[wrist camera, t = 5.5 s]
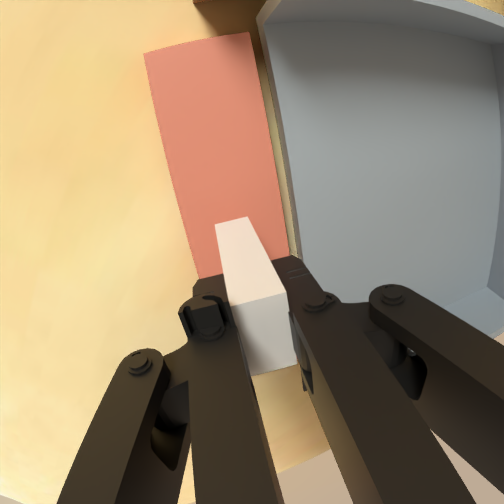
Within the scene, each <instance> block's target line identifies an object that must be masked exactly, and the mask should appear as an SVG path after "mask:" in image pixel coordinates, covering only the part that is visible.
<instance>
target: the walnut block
mask: <svg viewBox="0 0 504 504" xmlns="http://www.w3.org/2000/svg"><path fill="white" fill-rule="evenodd" d="M205 1H211V0H193V4H194V3H200V2H205Z"/></svg>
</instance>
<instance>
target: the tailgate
mask: <svg viewBox="0 0 504 504" xmlns="http://www.w3.org/2000/svg"><path fill="white" fill-rule="evenodd" d="M144 59H145V64H146V69H147V74H148V79H149V84H150V89H151V94H152V98H153V103H154V108H155V112H156V117H157V121H158V126H159V130H160V134H161V138H162V143H163V147H164V151H165V155H166V159H167V163H168V167H169V171H170V175H171V179H172V183H173V187H174V191H175V195H176V198H177V202H178V206H179V210H180V213H181V217H182V221H183V224H184V228H185V231H186V235H187V238H188V242H189V245H190V249H191V252H192V256H193V259H194V263H195V266H196V269H197V273H198V276H199V279H202V278H206V277H210V276H214V275H218V274H222V273H223V269H222V263H221V258H220V252H219V247H218V241H217V236H216V230H215V224H218V223H222V222H227V221H231V220H235V219H239V218H243V217H248V219H249V220H250V222H251V224H252V226H253V228H254V230H255V232H256V234H257V236H258V238H259V240H260V242H261V244H262V246H263V247H264V249H265V251H266V253H267V255H268V257H269V259H270V260H274V259H278V258H282V257H286V256H290V254H289V247H288V241H287V234H286V228H285V221H284V215H283V209H282V203H281V197H280V191H279V185H278V179H277V173H276V167H275V161H274V156H273V150H272V144H271V139H270V133H269V128H268V123H267V117H266V112H265V107H264V102H263V96H262V91H261V86H260V81H259V76H258V71H257V66H256V62H255V57H254V52H253V47H252V43H251V38H250V33H249V32H243V33H236V34H230V35H223V36H218V37H212V38H207V39H201V40H197V41H192V42H187V43H183V44H178V45H174V46H170V47H166V48H162V49H159V50H155V51H151V52H148V53H144ZM296 358H297V356H296ZM297 359H298V358H297Z"/></svg>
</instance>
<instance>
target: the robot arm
mask: <svg viewBox="0 0 504 504" xmlns="http://www.w3.org/2000/svg"><path fill="white" fill-rule="evenodd" d="M215 230H216V236H217V241H218V247H219V252H220V258H221V263H222V269H223V273H222V274H218V275H214V276H210V277H206V278H202V279H198V280H197V282H196V284H195V285H194V287H193V297H192V298H191V299H189V300H187V301H186V302H185V303H184V304H183V305H182V306H181V307H180V309H179V312H178V315H179V317H180V320H181V322H182V325H183V328H184V330H185V333H186V335H187V337H188V342H187V343H186V344H185V345H184V346H182V347H181V348H179V349H178V350H176V351H174V352H172V353H169V354H167V355H165V356H162V354H161V353H160V352H159V351H157V350H155V349H149V348H147V349H140V350H137V351H135V352H133V353H131V354H129V355H128V356H127V357H125V358H124V359H123V360H122V362H121V363H120V364H119V366H118V368H117V370H116V372H115V374H114V376H113V378H112V380H111V382H110V384H109V386H108V388H107V390H106V392H105V394H104V396H103V398H102V401H101V403H100V405H99V407H98V409H97V411H96V413H95V415H94V417H93V420H92V422H91V424H90V426H89V428H88V430H87V433H86V435H85V437H84V439H83V441H82V444H81V446H80V448H79V451H78V453H77V455H76V457H75V460H74V462H73V464H72V467H71V469H70V471H69V474H68V476H67V479H66V481H65V484H64V486H63V488H62V491H61V493H60V496H59V499H58V501H57V504H177V503H178V498H179V494H180V489H181V484H182V480H183V475H184V471H185V466H186V462H187V457H188V453H189V448H190V444H191V448H192V462H193V475H194V487H195V498H196V504H284V500H283V497H282V492H281V489H280V486H279V482H278V478H277V474H276V471H275V467H274V463H273V459H272V456H271V452H270V448H269V444H268V440H267V437H266V433H265V429H264V425H263V421H262V417H261V413H260V409H259V405H258V401H257V397H256V393H255V389H254V386H253V383H252V379H251V376H255V375H259V374H263V373H266V372H270V371H274V370H278V369H281V368H285V367H288V366H292V365H295V364H297V358H298V361H299V363H300V367H301V375H302V382H303V390H304V391H307V390H308V393H309V395H310V398H311V400H312V403H313V405H314V408H315V410H316V413H317V415H318V418H319V420H320V422H321V425H322V427H323V430H324V432H325V435H326V437H327V440H328V442H329V445H330V447H331V450H332V452H333V454H334V457H335V459H336V462H337V464H338V467H339V469H340V471H341V474H342V476H343V479H344V482H345V484H346V486H347V489H348V491H349V494H350V496H351V499H352V501H353V504H476V502H475V501H474V499H473V497H472V496H471V494H470V492H469V491H468V489H467V487H466V486H465V484H464V482H463V481H462V479H461V477H460V476H459V474H458V473H457V471H456V469H455V468H454V466H453V464H452V463H451V461H450V460H449V458H448V457H447V455H446V453H445V452H444V451H443V449H442V447H441V445H440V444H439V442H438V441H437V439H436V438H435V436H434V435H433V433H432V432H431V430H432V431H433V432H434V433H435V434H436V435H437V436H439V437H440V438H441V439H442V440H443V441H444V442H445V443H446V444H448V445H449V446H450V447H451V448H452V449H453V450H454V451H455V452H456V453H458V454H459V455H460V456H461V457H462V458H463V459H464V460H465V461H467V462H468V463H469V464H470V465H471V466H472V467H473V468H474V469H476V470H477V471H478V472H479V473H480V474H481V475H482V476H484V477H485V478H486V479H487V480H488V481H489V482H490V483H491V484H493V485H494V486H495V487H496V488H497V489H498V490H499V491H501V492H502V493H503V494H504V346H503V345H502V344H500V343H499V342H497V341H496V340H494V339H492V338H491V337H489V336H488V335H486V334H484V333H483V332H481V331H480V330H478V329H476V328H475V327H473V326H472V325H470V324H468V323H467V322H465V321H463V320H462V319H460V318H459V317H457V316H455V315H454V314H452V313H450V312H449V311H447V310H445V309H444V308H442V307H440V306H439V305H437V304H435V303H434V302H432V301H430V300H428V299H427V298H425V297H423V296H422V295H420V294H418V293H416V292H415V291H413V290H411V289H410V288H408V287H405V286H402V285H398V284H386V285H382V286H379V287H376V288H375V289H374V290H372V291H371V293H370V295H369V302H359V303H342V302H341V301H340V299H339V298H338V297H337V296H335V295H334V294H332V293H329V292H326V291H323V289H322V288H321V287H320V285H319V284H318V282H317V281H316V280H315V278H314V277H313V275H312V274H311V273H310V271H309V270H308V268H306V265H305V264H304V263H303V261H302V260H301V259H299V258H297V257H295V256H293V255H290V256H286V257H282V258H278V259H274V260H270V259H269V257H268V255H267V253H266V251H265V249H264V247H263V246H262V244H261V242H260V240H259V238H258V236H257V234H256V232H255V230H254V228H253V226H252V224H251V222H250V220H249V219H248V217H243V218H239V219H235V220H231V221H227V222H222V223H218V224H215ZM411 350H412V351H413V352H412V351H411ZM296 356H297V358H296ZM430 429H431V430H430Z"/></svg>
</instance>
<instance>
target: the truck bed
mask: <svg viewBox="0 0 504 504" xmlns="http://www.w3.org/2000/svg"><path fill="white" fill-rule="evenodd" d="M256 23H257V27H258V32H259V36H260V41H261V45H262V50H263V55H264V60H265V65H266V69H267V74H268V79H269V84H270V90H271V95H272V100H273V105H274V110H275V116H276V121H277V127H278V132H279V138H280V144H281V150H282V155H283V161H284V167H285V173H286V180H287V186H288V192H289V199H290V205H291V212H292V218H293V225H294V232H295V239H296V246H297V254H298V258H299V259H301V260H302V261H303V263H304V264H305V265H306V268H308V270H309V271H310V273H311V274H312V275H313V277H314V278H315V280H316V281H317V282H318V284H319V285H320V287H321V288H322V289H323V291H326V292H329V293H332V294H334V295H335V296H337V297H338V298H339V299H340V301H341V302H342V303H359V302H369V295H370V293H371V291H372V290H374V289H375V288H376V287H379V286H382V285H386V284H398V285H402V286H405V287H408V288H410V289H411V290H413V291H415V292H416V293H418V294H420V295H422V296H423V297H425V298H427V299H428V300H430V301H432V302H434V303H435V304H437V305H439V306H440V307H442V308H444V309H445V310H447V311H449V312H450V313H452V314H454V315H455V316H457V317H459V318H460V319H462V320H463V321H465V322H467V323H468V324H470V325H472V326H473V327H475V328H476V329H478V330H480V331H481V332H483V333H484V334H486V335H488V336H489V337H491V338H492V339H494V338H495V337H497V336H498V335H500V334H502V333H503V332H504V16H503V15H500V14H498V13H496V12H493V11H491V10H488V9H486V8H483V7H481V6H478V5H475V4H473V3H470V2H467V1H464V0H267V1H266V2H265V4H264V5H263V7H262V8H261V10H260V11H259V13H258V15H257V16H256ZM411 351H412V350H411ZM412 352H413V351H412Z"/></svg>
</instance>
